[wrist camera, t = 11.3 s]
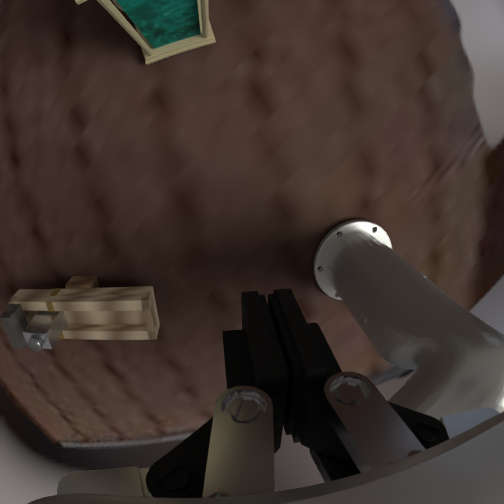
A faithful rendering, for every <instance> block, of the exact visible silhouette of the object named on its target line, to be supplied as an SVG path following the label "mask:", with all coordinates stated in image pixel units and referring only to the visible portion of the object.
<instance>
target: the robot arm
mask: <svg viewBox="0 0 504 504" xmlns="http://www.w3.org/2000/svg"><path fill="white" fill-rule="evenodd" d="M337 232H338V233H337ZM319 266H320V267H319ZM313 271H314V276H315V279H316V281H317V283H318V285H319V287H320V288H321V289H322V291H323V292H324V293H326V294H327V295H328V296H330V297H332V298H334V299H338V300H342V301H343V302H344V304H345V305H346V307H347V308H348V309H349V311H350V312H351V314H352V315H353V317H354V318H355V320H356V321H357V323H358V324H359V325H360V327H361V328H362V330H363V331H364V333H365V334H366V336H367V337H368V339H369V340H370V342H371V343H372V345H373V346H374V347H375V349H376V350H377V352H378V353H379V355H380V356H381V357H382V358H383V359H384V360H386V361H387V362H389V363H390V364H392V365H394V366H398V367H401V368H407V369H417V370H416V371H415V373H414V374H413V375H412V376H411V378H410V379H409V380H408V381H407V382H406V383H405V385H404V386H403V387H402V388H401V389H400V390H399V391H398V392H397V393H396V394H395V395H394V396H393V397H391V399H389V400H388V401H387V400H386V399H385V398H384V396H383V395H382V394H381V393H380V391H379V390H378V389H377V388H376V386H375V385H374V384H373V383H372V382H371V381H370V380H369V379H368V378H367V377H365V376H363V375H361V374H359V373H355V372H342V371H341V369H340V367H339V365H338V363H337V361H336V359H335V357H334V355H333V353H332V351H331V349H330V347H329V345H328V343H327V341H326V339H325V337H324V335H323V333H322V331H321V329H320V327H319V325H318V324H317V323H308V324H307V322H306V320H305V318H304V316H303V314H302V312H301V310H300V307H299V305H298V303H297V301H296V299H295V297H294V295H293V293H292V290H291V289H278V290H274V293H273V294H269V295H268V305H267V302H266V299H265V296H264V295H259V294H258V291H250V292H242V293H241V301H242V330H231V331H223V345H224V357H225V368H226V379H227V390H226V391H224V392H223V393H222V394H221V395H220V396H219V397H218V398H217V401H216V404H215V409H214V416H213V417H212V418H211V419H210V420H209V421H208V422H206V423H205V424H204V425H203V426H201V427H200V428H199V429H198V430H197V431H195V432H194V433H193V434H192V435H190V436H189V437H188V438H187V439H185V440H184V441H183V442H182V443H180V444H179V445H178V446H176V447H175V448H174V449H172V450H171V451H170V452H169V453H167V454H166V455H165V456H163V457H162V458H161V459H160V460H158V461H156V462H155V463H154V464H153V465H152V466H151V467H150V468H144V469H138V467H129V468H119V469H109V470H95V471H75V472H71V473H68V474H66V475H65V476H63V477H62V478H61V480H60V481H59V483H58V488H57V495H55V496H48V497H44V498H40V499H37V500H34V501H32V502H30V503H28V504H504V334H503V333H501V332H500V331H498V330H497V329H495V328H494V327H492V326H490V325H488V324H487V323H485V322H484V321H482V320H481V319H479V318H477V317H476V316H474V315H473V314H472V313H470V312H469V311H467V310H466V309H464V308H463V307H462V306H461V305H459V304H458V303H457V302H456V301H454V300H453V299H452V298H451V297H449V296H448V295H447V294H446V293H445V292H443V291H442V290H441V289H440V288H439V287H438V286H436V285H435V284H434V283H433V282H432V281H430V280H429V279H428V278H427V277H426V276H424V275H423V274H422V273H421V272H420V271H418V270H417V269H416V268H415V267H413V266H412V265H411V264H410V263H408V262H407V261H406V260H405V259H404V258H402V257H401V256H400V255H399V254H397V253H396V252H395V251H393V250H392V244H391V241H390V238H389V236H388V235H387V233H386V232H385V231H384V230H383V229H382V228H381V227H380V226H378V225H377V224H375V223H373V222H371V221H368V220H364V219H354V220H350V221H346V222H344V223H342V224H339V225H338V226H336V227H335V228H333V229H332V230H331V231H330V232H329V233H328V234H327V235H326V236H325V237H324V238H323V240H322V241H321V242H320V244H319V246H318V248H317V250H316V253H315V256H314V263H313ZM283 426H284V430H285V433H286V435H290V434H292V437H293V441H294V443H296V442H301V444H302V445H304V446H306V447H308V448H309V451H310V454H311V457H312V459H313V461H314V463H315V465H316V466H317V469H318V470H319V472H320V474H321V476H322V478H323V480H324V482H325V483H321V484H317V485H312V486H307V487H302V488H296V489H291V490H285V491H278V492H275V472H274V471H275V468H274V454H275V453H276V452H277V450H278V449H279V448H280V445H281V437H282V430H283Z"/></svg>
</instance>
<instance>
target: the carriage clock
mask: <svg viewBox="0 0 504 504" xmlns="http://www.w3.org/2000/svg"><path fill="white" fill-rule="evenodd" d="M75 1H76V3H77V4H78V5H79V4H81V3H83V2H85V1H87V0H75ZM97 1H98V2H99V3H100V4H101V5H102V6H103V7H104V8H105V9H106V10H107V11H108V12H109V13H110V15H111V16H112V17H113V18H114V19H115V20H116V21H117V22H118V23H119V24H120V25H121V26H122V27H123V28H124V29H125V30H126V31H127V32H128V33H129V35H130V36H131V37H132V38H133V39H134V40H135V41H136V42H137V43H138V44H139V45H140V46H141V48H142V51H143V55H144V58H145V62H146V64H147V65H148V64H150V63H153V62H156V61H158V60H161V59H164V58H167V57H170V56H173V55H176V54H179V53H182V52H185V51H188V50H191V49H195V48H198V47H202V46H205V45H209V44H212V43H216V41H215V38H214V35H213V31H212V28H211V25H210V22H209V19H208V0H112V1H113V2H114V4H115V5H116V6H117V7H118V8H119V9H120V10H122V11H124V12H125V13H126V14H127V15H128V16H129V18H130V19H131V20H132V21H133V23H134V24H135V26H136V30H137V32H136V31H135V29H134V28H133V27H132V26H131V25H130V23H129V22H128V21H127V20H126V19H125V18H124V16H123V15H122V14H121V13H120V12H119V10H118V9H117V8H116V7H115V6H114V5H113V3H112V2H111V1H110V0H97Z"/></svg>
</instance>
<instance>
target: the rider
mask: <svg viewBox="0 0 504 504" xmlns="http://www.w3.org/2000/svg"><path fill="white" fill-rule="evenodd" d="M66 324H67V320H66V317H65V314H64V311H37V313H36V314H35V316H34V317H33V318H32V320H31V321H30V322H29V324H28V325H27V327H26V328H25V330H24V331H23V335H24V337H25V339H26V341H27V343H28V346H29V347H30V348H31V349H32V350H33V351H36V352H39V351H40V350H41V349H42V348H44V349H53V347H54V345H55V344H56V342H57V340H58V338H59V336H60V335H61V333H62V331H63V329H64V328H65V326H66Z"/></svg>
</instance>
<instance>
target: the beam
mask: <svg viewBox="0 0 504 504" xmlns="http://www.w3.org/2000/svg"><path fill="white" fill-rule="evenodd" d="M65 288H66V289H61V288H55V289H19V290H18V291H17V292H16V293H15V295H14V296H13V297H12V298H11V299H10V300H9V301H8V302H9V305H10V306H9V307H8V308H7V309H6V311H5V312H4V313H3V314H2V315H1V317H0V319H1V321H2V324H3V326H4V328H5V331H6V333H7V335H8V337H9V339H10V342H11V344H12V346H13V348H16V349H24V348H25V346H26V345H27V341H26V339H25V337H24V335H23V331H24V330H25V328H26V327H27V325H28V324H29V322H30V321H31V320H32V318H33V317H34V316H35V314H36V313H37V311H64V314H65V317H66V320H67V324H66V326H65V328H64V329H63V331H62V333H61V335H60V336H59V339H92V340H157V335H158V330H159V326H160V322H159V317H158V312H157V307H156V301H155V296H154V290H153V286H139V287H112V288H99V285H98V281H97V277H96V275H77V276H72V277H71V278H70V280H69V281H68V282H67V284H66V285H65Z"/></svg>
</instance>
